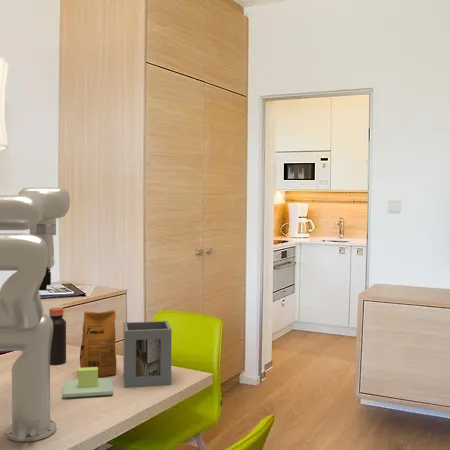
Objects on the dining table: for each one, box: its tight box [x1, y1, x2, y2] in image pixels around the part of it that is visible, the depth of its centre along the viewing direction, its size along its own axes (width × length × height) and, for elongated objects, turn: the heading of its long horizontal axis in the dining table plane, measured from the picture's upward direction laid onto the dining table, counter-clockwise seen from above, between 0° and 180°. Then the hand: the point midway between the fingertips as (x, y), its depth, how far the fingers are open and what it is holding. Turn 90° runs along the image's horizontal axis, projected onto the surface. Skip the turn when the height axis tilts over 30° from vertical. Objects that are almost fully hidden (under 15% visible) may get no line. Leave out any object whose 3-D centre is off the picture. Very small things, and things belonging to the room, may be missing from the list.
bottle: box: [48, 307, 67, 366], centre depth 206 cm, size 7×7×20 cm
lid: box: [61, 367, 114, 398], centre depth 178 cm, size 12×15×8 cm
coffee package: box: [79, 309, 117, 378], centre depth 195 cm, size 10×12×22 cm
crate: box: [122, 320, 172, 388], centre depth 189 cm, size 12×15×18 cm
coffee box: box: [136, 329, 160, 377], centre depth 189 cm, size 9×6×16 cm
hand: (43, 287), depth 168 cm, fingers open, 9 cm apart
